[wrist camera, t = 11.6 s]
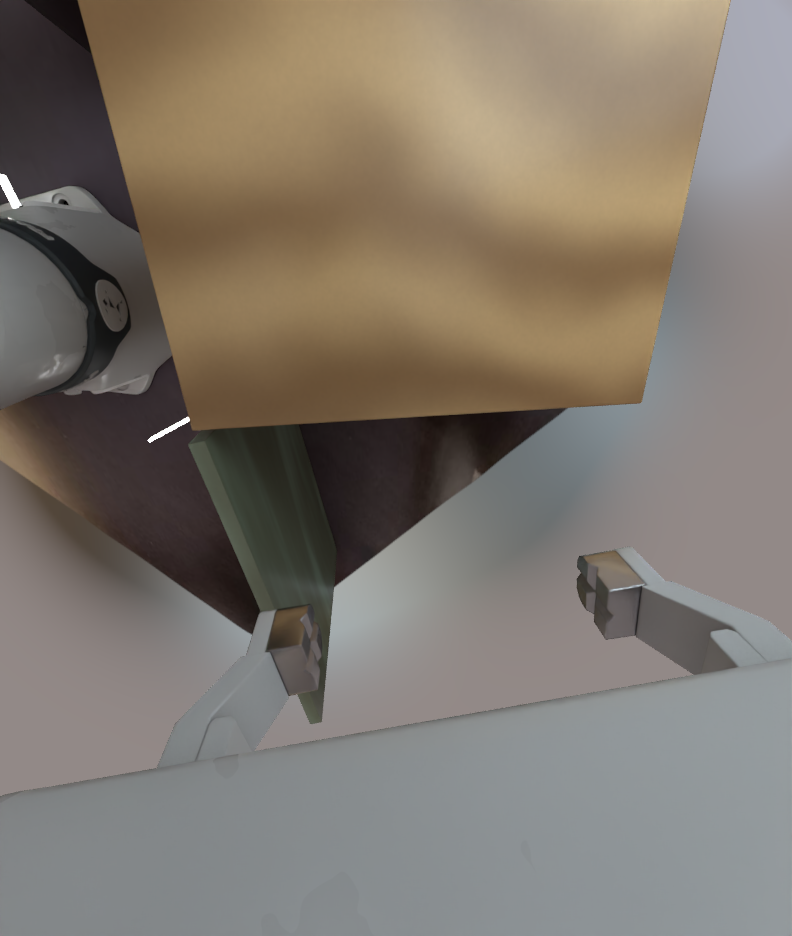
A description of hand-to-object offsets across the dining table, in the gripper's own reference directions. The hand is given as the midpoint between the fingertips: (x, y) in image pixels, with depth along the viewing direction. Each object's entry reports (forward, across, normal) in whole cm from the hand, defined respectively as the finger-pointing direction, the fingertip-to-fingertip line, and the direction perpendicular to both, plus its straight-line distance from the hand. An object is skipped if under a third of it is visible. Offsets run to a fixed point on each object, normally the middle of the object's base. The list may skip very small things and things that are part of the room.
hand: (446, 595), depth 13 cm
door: (+37, +15, +11) cm, 41 cm away
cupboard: (+37, -2, -10) cm, 38 cm away
